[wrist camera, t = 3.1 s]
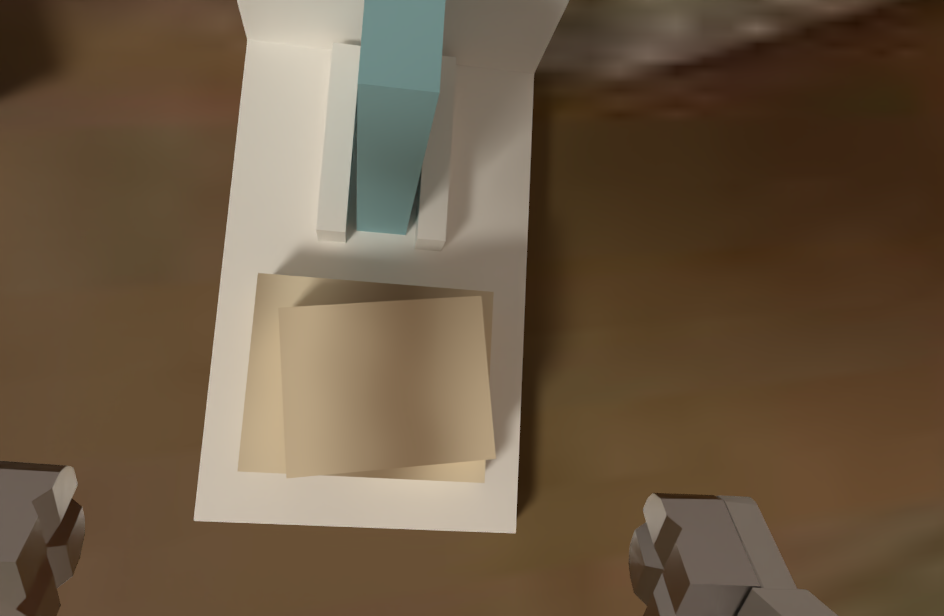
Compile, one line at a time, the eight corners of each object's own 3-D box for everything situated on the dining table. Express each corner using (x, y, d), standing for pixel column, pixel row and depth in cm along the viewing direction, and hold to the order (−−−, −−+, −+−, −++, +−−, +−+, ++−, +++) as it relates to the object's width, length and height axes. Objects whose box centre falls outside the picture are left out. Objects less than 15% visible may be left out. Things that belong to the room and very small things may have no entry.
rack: (202, 516, 28) (32, 595, 13) (256, 23, 31) (169, -349, 17) (507, 528, 29) (660, 611, 15) (527, 57, 33) (667, -259, 18)
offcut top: (291, 476, 25) (286, 478, 24) (283, 317, 26) (278, 307, 24) (486, 457, 26) (496, 458, 25) (473, 305, 27) (481, 295, 25)
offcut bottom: (245, 469, 27) (237, 471, 25) (264, 283, 28) (257, 272, 26) (476, 480, 28) (484, 483, 26) (485, 301, 29) (493, 291, 27)
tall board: (356, 230, 29) (357, 83, 17) (369, 78, 30) (377, -158, 18) (405, 235, 29) (439, 92, 17) (415, 84, 30) (454, -146, 18)
